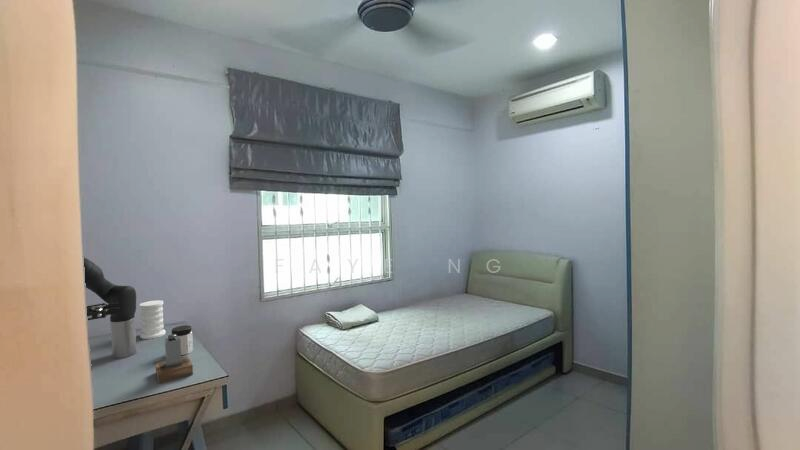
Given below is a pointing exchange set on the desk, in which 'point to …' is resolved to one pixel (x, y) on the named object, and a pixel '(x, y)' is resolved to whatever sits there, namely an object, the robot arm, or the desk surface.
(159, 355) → the desk surface
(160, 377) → the stand
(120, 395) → the desk surface
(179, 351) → the block
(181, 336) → the jar
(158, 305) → the decorative container
